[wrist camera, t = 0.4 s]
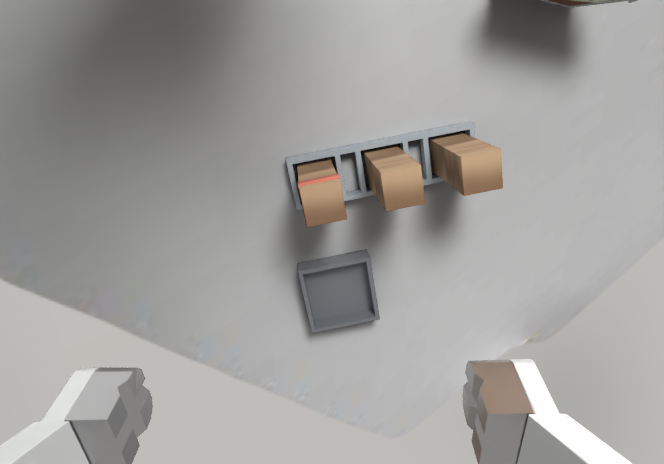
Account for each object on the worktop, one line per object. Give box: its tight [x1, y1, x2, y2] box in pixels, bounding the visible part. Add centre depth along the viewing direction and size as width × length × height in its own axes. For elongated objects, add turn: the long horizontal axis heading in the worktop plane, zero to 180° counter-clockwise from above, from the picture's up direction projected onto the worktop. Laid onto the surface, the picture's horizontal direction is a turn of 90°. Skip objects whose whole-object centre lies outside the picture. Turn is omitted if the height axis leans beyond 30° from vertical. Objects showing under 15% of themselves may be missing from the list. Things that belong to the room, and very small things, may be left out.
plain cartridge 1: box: [363, 145, 425, 211], centre depth 51 cm, size 4×4×11 cm
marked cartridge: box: [297, 158, 347, 227], centre depth 51 cm, size 4×4×11 cm
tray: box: [298, 250, 380, 333], centre depth 60 cm, size 9×9×2 cm
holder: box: [286, 122, 476, 211], centre depth 55 cm, size 6×22×2 cm, turn 100°
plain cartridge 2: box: [429, 132, 503, 196], centre depth 51 cm, size 4×4×11 cm
